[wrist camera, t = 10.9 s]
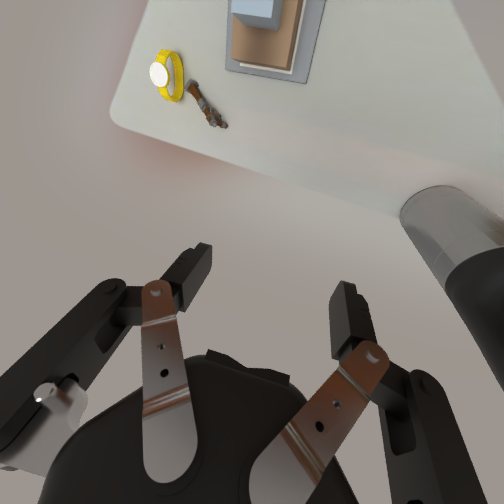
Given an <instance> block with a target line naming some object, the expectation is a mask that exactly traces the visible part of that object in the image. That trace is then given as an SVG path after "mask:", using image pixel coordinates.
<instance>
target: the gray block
mask: <svg viewBox="0 0 504 504" xmlns="http://www.w3.org/2000/svg"><path fill="white" fill-rule="evenodd" d="M282 6H283V0H232V3H231V13H232V14H233V15H234V16H235V17H236V18H237V19H238V20H239V21H240V22H241V23H242V24H244V25H245V26H250V27H257V28H263V29H270V30H277V31H279V25H280V19H281V12H282Z"/></svg>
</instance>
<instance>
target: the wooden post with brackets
mask: <svg viewBox="0 0 504 504" xmlns="http://www.w3.org/2000/svg"><path fill="white" fill-rule="evenodd" d="M198 86H199V85H198V83H197V82H195V81H193V80H192V79H189V80H188V82H187V84H186V86H185V87H184V89H185V91H187V92H189V93H191V94H192V95H193V96H194V98H195V99H196V100H197V102H198V105H199V106H200V109H202V110H201V111H202V112H204V113H205V115H206V117H207V118H206V119H207V121H208V122H209V124H210V125H211V126H213V127H216V126H217V125H218V126H220V127H221V128H225V129H226V128H227V124H226V123H224V122H223V121H220V120H221V119H220V117H221V115H219V113H218V111H217V110H215V109H212V110H211V111H212V112H210V110H209V109H210V108H209V107H208V105H207V104H206V102H205V100H204V99H203V98H202V97H201V95H200V93H199V90H198V88H197V87H198Z"/></svg>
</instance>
